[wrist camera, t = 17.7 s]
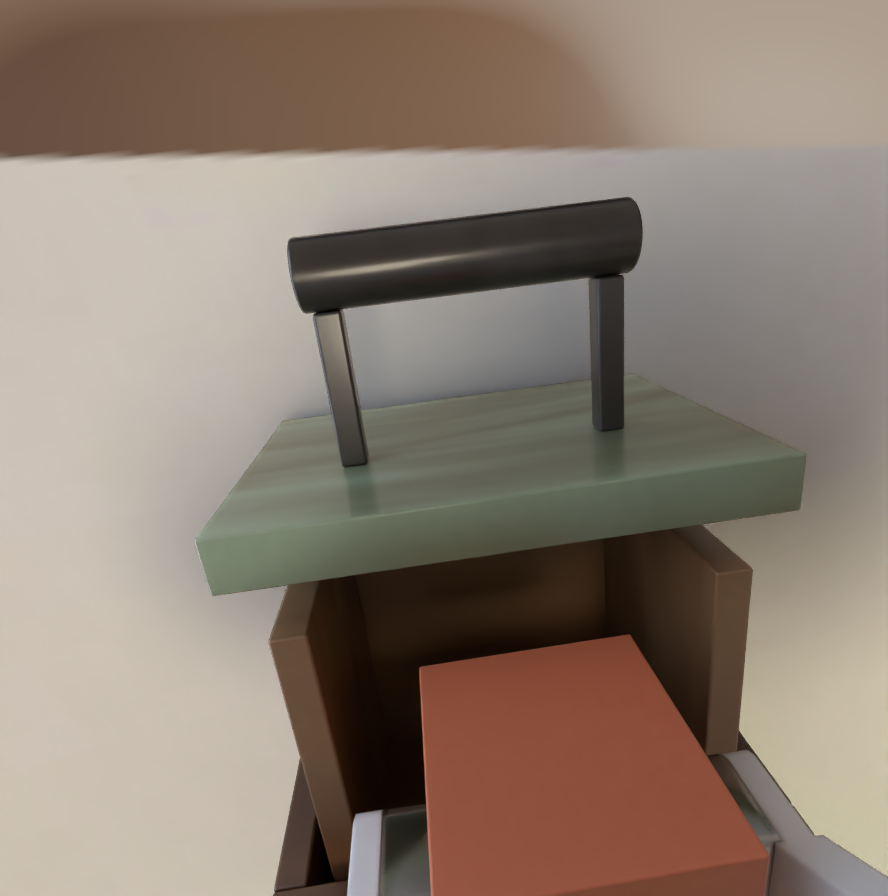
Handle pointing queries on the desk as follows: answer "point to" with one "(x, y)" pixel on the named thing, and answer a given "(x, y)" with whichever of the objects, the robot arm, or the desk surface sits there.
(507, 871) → the block
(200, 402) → the desk surface
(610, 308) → the drawer
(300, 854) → the cabinet
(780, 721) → the desk surface
